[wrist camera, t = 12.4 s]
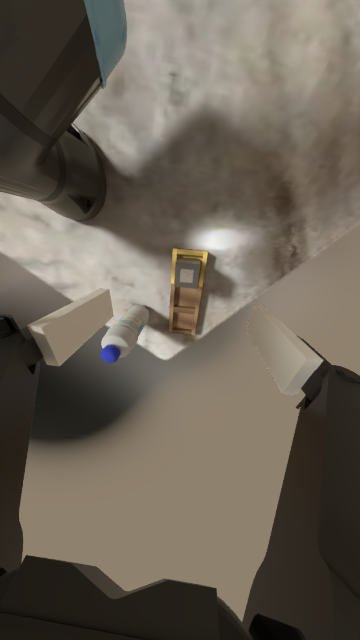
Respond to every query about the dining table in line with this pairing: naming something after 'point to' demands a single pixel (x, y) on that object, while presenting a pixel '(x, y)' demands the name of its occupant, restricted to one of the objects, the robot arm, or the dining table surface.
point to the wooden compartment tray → (186, 295)
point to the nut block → (187, 272)
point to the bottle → (124, 334)
